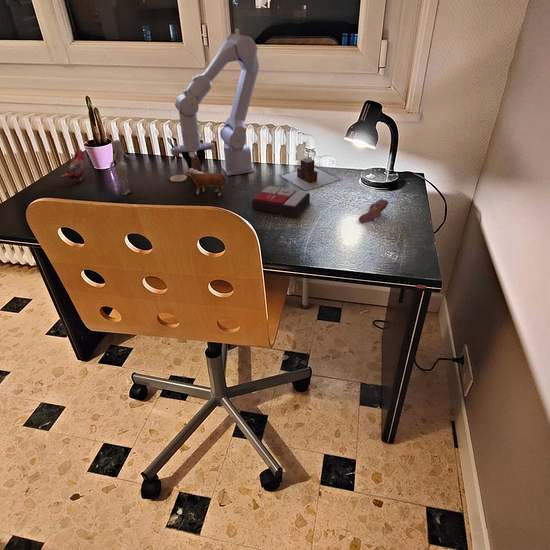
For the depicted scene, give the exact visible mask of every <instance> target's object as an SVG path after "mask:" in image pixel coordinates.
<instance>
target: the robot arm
mask: <svg viewBox="0 0 550 550" xmlns="http://www.w3.org/2000/svg"><path fill="white" fill-rule="evenodd" d="M258 49H259V48H258V46H257V44H256V42H255V40H254V39H253V38H252V37H250V36H248V35H243V34H241V33H238V32H233V33H231V34H229V36H228V37H227V39H226V40H224V42H223V43H222V45H221V46H220V49H218V51H217V52H216V54H215V56H214V57H213V59H212V60H211V61H210V63H209V64H208V66H207V68H205V71H204V72H203V73H202V74H197V75H196V76H192V77H191V80H192V81H191V82H190V83H189V84H188V86H187V88H186V89H183V90H182V94H179V95H178V96H177V97H176V100H175V103H174V106H175V108H176V110H177V111H178V117H179V124H180V125H179V126H180V131H181V139H182V144H181V145H179V146H173V147H170V154H171V156H175V155H180V154H181V156H182V158H183V160H184V161H185V163H186V165H187V167H188V170H189V169H190V168H192V167H191V160H190V155H189V152H195V153H196V155H197V157H198V159H199V161H200V164H201V168H202V167H203V164H204V163H203V162H204V159H205V157H206V152H205V151H209V150H210V151H214V150H215V147H214V146H215V145H214V143H213V142H201V139H200V130H199V124H198V123H199V121H198V116H197V113H198V112H199V106H200V104H201V102H202V101H203V100H204V99H205V97H206V96H207V95H208V93H209V92H210V91H211V90H212V88H213V85H212V83H213V80H214V79H216V77H218V75H219V74H220V73H221V71H223V69H224V68H225V67H226V65H227V64H228V63H231V62H237V63H238V65H239V66H240V69H241V71H240V74H239V78H238V83H237V87H236V89H235V90H236V91H235V95H234V98H233V103H232V105H231V106H232V107H231V110H230V114H229V117H228V118H226V120H225V123H224V125H223V126H222V127H221V129H220V133H219V135H220V138H221V140H222V141H223V155H224V165H225V166H222V170H223V171H224V172H225V174H226V176H234V175H242V174H248V173H253V165H252V164H253V163H252V162H253V161H252V151H251V148H250V146H249V144H246V143H247V137H246V136H247V126H246V118H247V114H248V111H249V107H250V104H251V99H252V96H253V92H254V88H255V84H256V81H257V78H258V73H259V69H260V63H259V58H258V51H259V50H258ZM202 169H203V168H202Z"/></svg>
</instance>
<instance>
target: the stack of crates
mask: <svg viewBox="0 0 550 550" xmlns="http://www.w3.org/2000/svg"><path fill="white" fill-rule="evenodd" d="M315 164H316V160H314V159H312V158H310V157H306V158H301V159H300V166H298V167H297V168H296V170H295V171H292V172H288V173H285V174H282V175H280V177H282V178H283V179H285V180H287V181H288V182H290V183H292V184H294V185H295V186H297V187H299V188H301V189H302V190H304V191H309V190H312V189H315V188H318V187H321V186H325V185H328V184H330V183H333V182H337V181H340V179H339V178H338V177H335V176H333V175H332V174H330V173H327V172H325V171H323V170H321V169H319V168H317V167H315Z"/></svg>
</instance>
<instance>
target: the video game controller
mask: <svg viewBox="0 0 550 550" xmlns="http://www.w3.org/2000/svg"><path fill="white" fill-rule="evenodd" d="M388 205H389V201H388V200H386V199H384V198H381V199H379V200H377V201H376V202H374V203H372V204H371V205H370V206H369V211H368V212H366V213H363V214H362V215H360V216H359V218H358V222H359V223H361V224H367V223H370V222H374V221H375V220H376V219H380V218H381V215H382V212H383V211H384V210H385V209H386V208H387V207H388Z"/></svg>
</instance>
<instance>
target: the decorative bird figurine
mask: <svg viewBox="0 0 550 550" xmlns="http://www.w3.org/2000/svg"><path fill="white" fill-rule="evenodd" d="M85 166H86V163H85V154H84V152H83V150H82V149H81V148H78V149H76V151H75V152H74V157H73V159H72V161H71V163H70V164H69V167H68V169H67V171H66V173H64V174H62V175H60V176H59V178H60V179H61V178H69V179H70V180H74V179H75V180H77V182H76V184H78V183H80V182H82V181H83V179H84V178H85V176H83V175H84V173H85V168H86V167H85Z"/></svg>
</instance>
